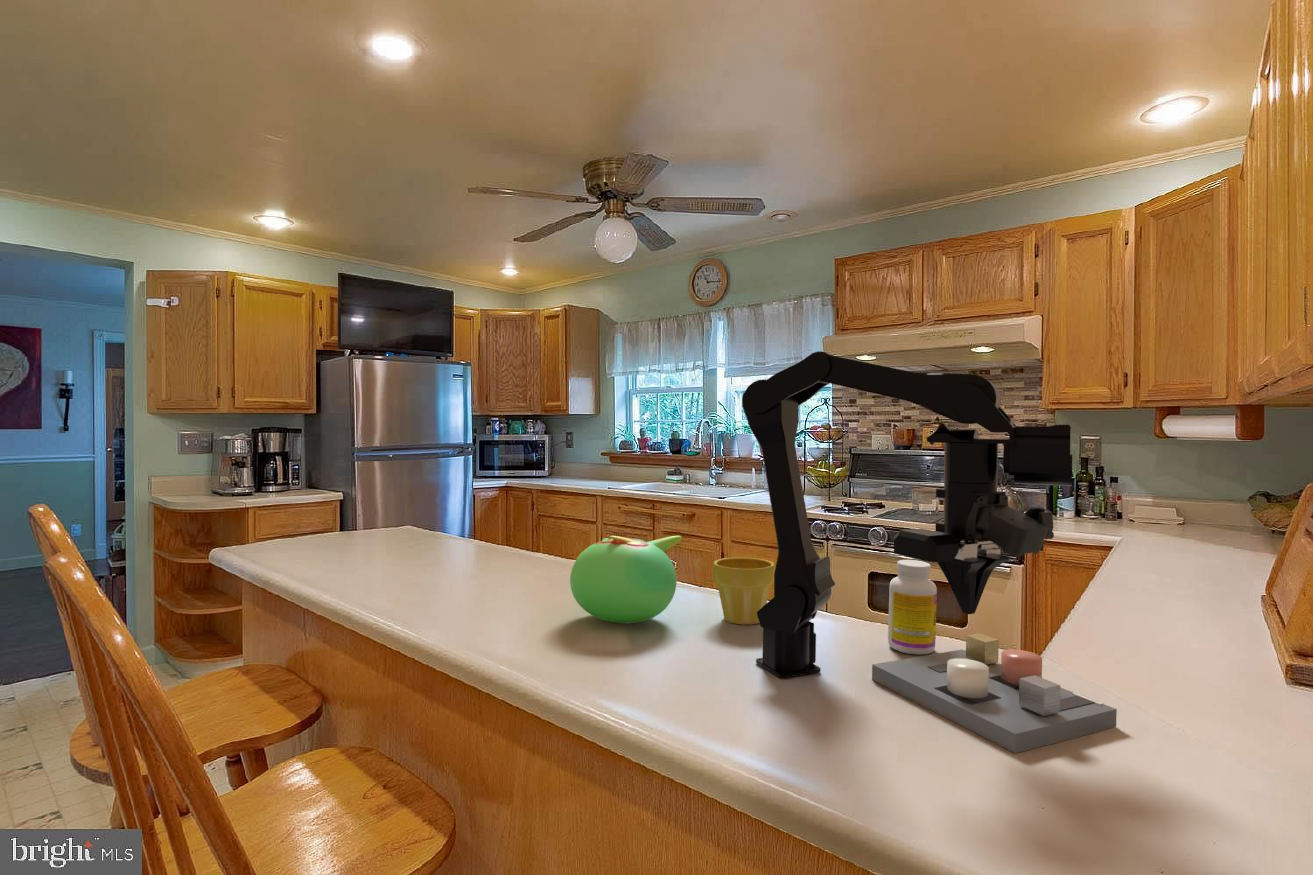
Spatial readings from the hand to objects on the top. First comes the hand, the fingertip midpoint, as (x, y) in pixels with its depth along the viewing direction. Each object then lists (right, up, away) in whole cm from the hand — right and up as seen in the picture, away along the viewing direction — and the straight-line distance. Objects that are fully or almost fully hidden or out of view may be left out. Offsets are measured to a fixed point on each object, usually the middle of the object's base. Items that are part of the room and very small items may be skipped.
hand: (968, 613), depth 78 cm
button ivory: (0, -9, -1) cm, 9 cm away
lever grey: (+5, -9, -5) cm, 12 cm away
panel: (+3, -11, +2) cm, 12 cm away
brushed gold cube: (+6, -9, +10) cm, 15 cm away
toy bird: (-42, -10, +34) cm, 55 cm away
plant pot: (-22, -10, +35) cm, 42 cm away
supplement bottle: (+1, -11, +21) cm, 23 cm away
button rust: (+8, -9, +3) cm, 12 cm away
